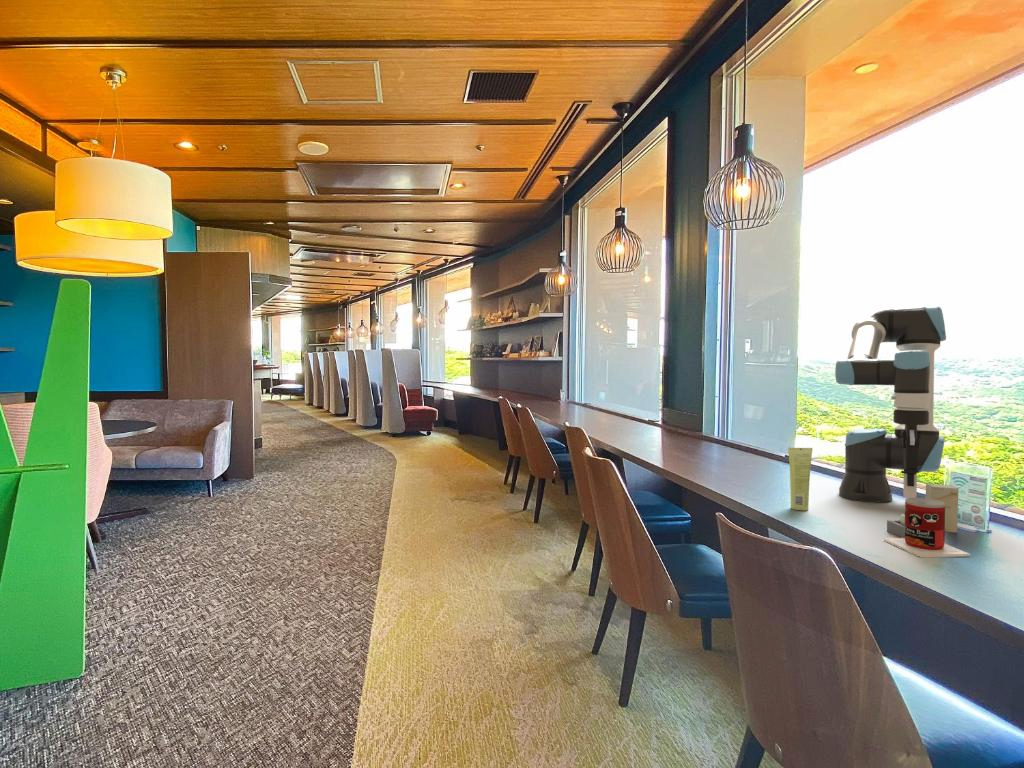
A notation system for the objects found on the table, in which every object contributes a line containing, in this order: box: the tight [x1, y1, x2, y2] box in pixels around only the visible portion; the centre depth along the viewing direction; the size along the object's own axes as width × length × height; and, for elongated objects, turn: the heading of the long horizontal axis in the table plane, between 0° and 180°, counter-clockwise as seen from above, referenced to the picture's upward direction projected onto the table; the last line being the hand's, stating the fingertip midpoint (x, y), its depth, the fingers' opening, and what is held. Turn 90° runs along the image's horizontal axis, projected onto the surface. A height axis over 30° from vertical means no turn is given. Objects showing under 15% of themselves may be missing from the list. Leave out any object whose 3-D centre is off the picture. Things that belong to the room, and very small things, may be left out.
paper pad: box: [882, 537, 971, 558], centre depth 132 cm, size 12×12×1 cm
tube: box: [787, 447, 813, 511], centre depth 168 cm, size 6×5×20 cm
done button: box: [899, 513, 905, 526], centre depth 142 cm, size 4×4×3 cm
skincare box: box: [925, 483, 959, 533], centre depth 146 cm, size 6×4×12 cm
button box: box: [886, 519, 905, 538], centre depth 142 cm, size 7×7×3 cm
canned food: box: [904, 497, 946, 550], centre depth 132 cm, size 8×8×11 cm
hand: (909, 497), depth 142 cm, fingers closed
